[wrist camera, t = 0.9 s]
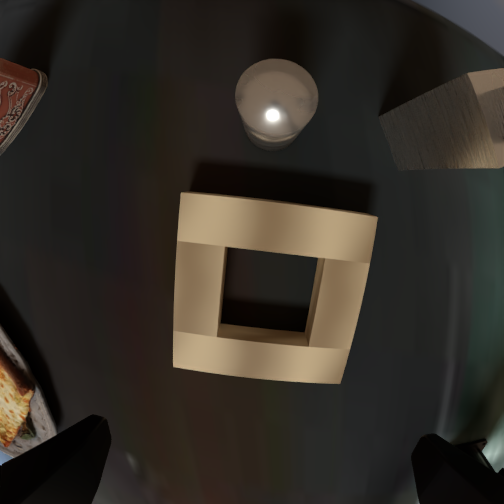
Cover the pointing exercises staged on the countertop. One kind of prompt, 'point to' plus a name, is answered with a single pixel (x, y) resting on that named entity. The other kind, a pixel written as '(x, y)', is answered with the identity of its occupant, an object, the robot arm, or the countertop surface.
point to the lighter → (17, 98)
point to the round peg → (275, 102)
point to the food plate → (21, 403)
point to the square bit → (450, 125)
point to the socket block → (272, 240)
